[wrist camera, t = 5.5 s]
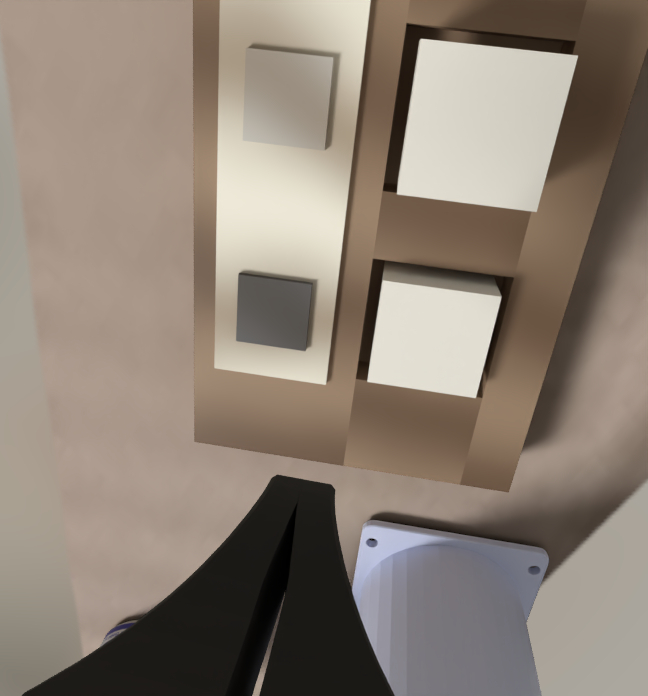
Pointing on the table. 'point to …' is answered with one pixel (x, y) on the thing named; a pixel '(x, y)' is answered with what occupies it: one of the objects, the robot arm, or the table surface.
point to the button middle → (483, 123)
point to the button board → (377, 224)
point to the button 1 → (433, 328)
